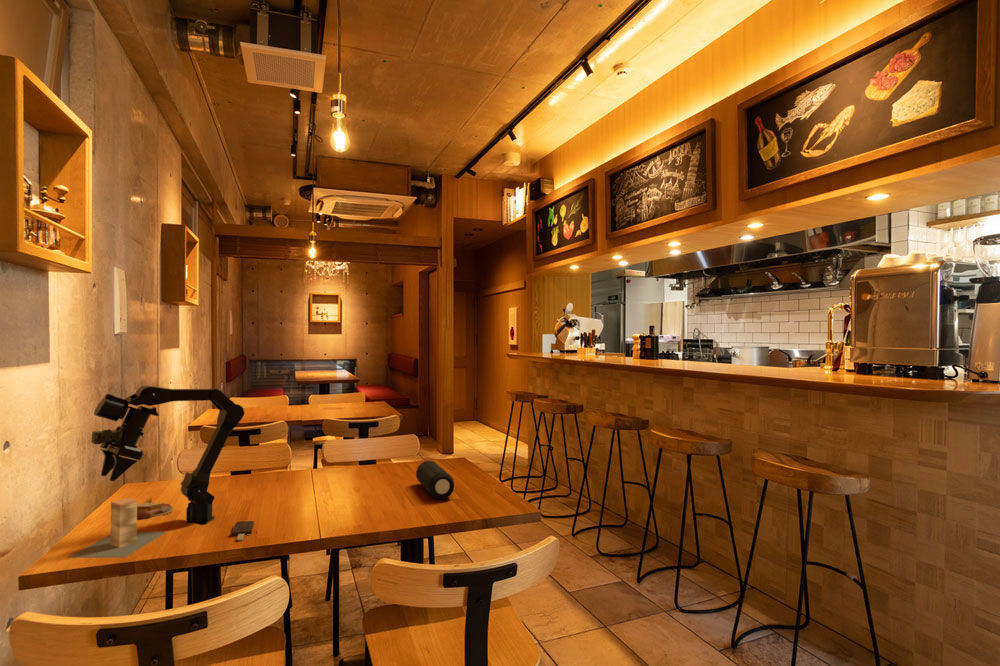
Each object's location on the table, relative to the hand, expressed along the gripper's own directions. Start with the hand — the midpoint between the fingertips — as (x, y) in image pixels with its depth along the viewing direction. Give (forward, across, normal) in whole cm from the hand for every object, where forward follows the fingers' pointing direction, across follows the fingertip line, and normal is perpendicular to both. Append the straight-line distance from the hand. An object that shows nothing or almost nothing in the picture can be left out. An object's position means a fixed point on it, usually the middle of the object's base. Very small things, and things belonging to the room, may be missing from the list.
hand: (107, 478), depth 155 cm
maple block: (+16, +6, +10) cm, 19 cm away
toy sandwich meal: (+10, -19, +23) cm, 31 cm away
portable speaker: (-22, +30, +99) cm, 105 cm away
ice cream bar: (+6, +20, +35) cm, 41 cm away
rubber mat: (+16, +6, +9) cm, 19 cm away
